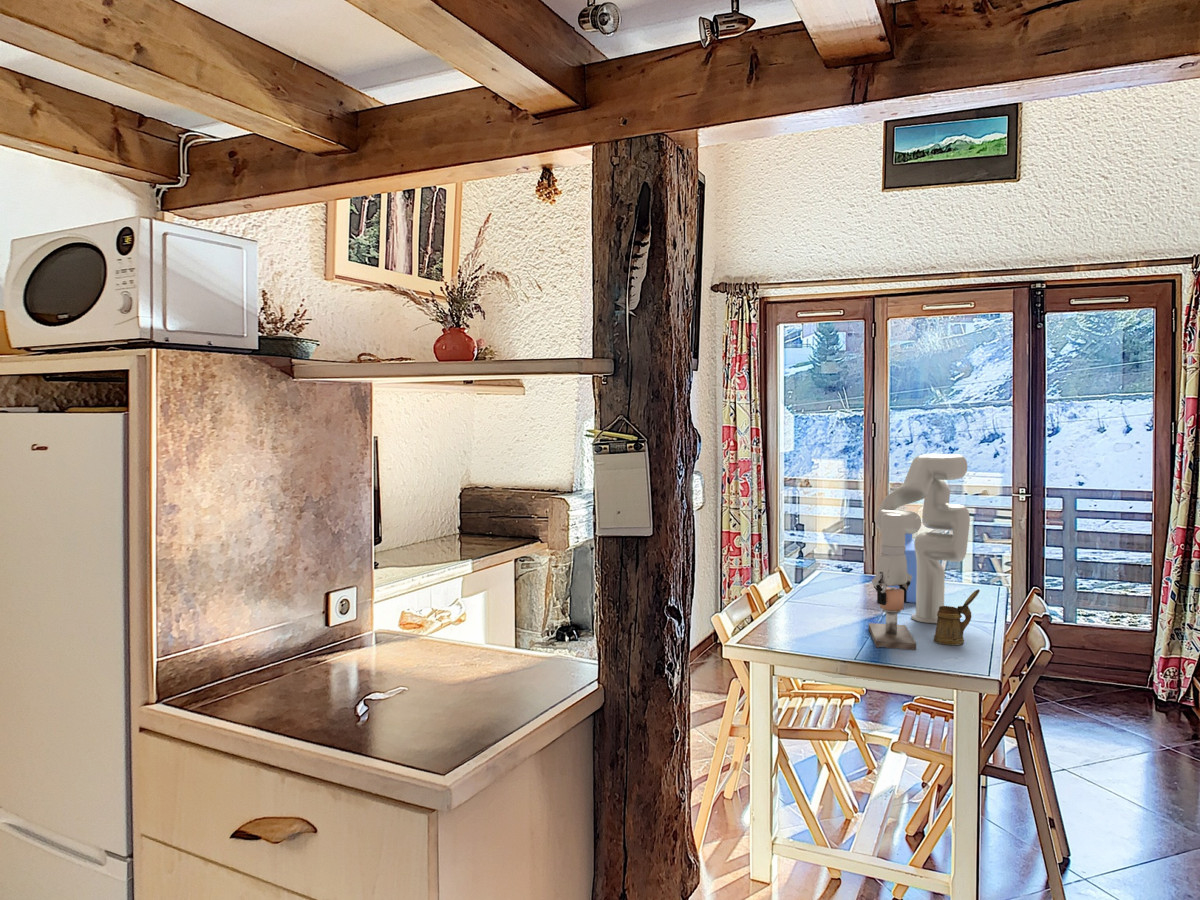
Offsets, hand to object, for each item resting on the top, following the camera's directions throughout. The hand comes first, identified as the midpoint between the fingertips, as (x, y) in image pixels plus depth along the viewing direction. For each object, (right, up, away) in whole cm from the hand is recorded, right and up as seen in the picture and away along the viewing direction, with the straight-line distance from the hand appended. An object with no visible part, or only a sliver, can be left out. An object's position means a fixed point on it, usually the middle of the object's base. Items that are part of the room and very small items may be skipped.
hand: (891, 602), depth 276 cm
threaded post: (0, -10, 0) cm, 10 cm away
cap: (0, -2, 0) cm, 2 cm away
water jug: (+28, -10, +62) cm, 69 cm away
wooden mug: (+20, -12, -4) cm, 23 cm away
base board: (0, -12, 0) cm, 12 cm away
